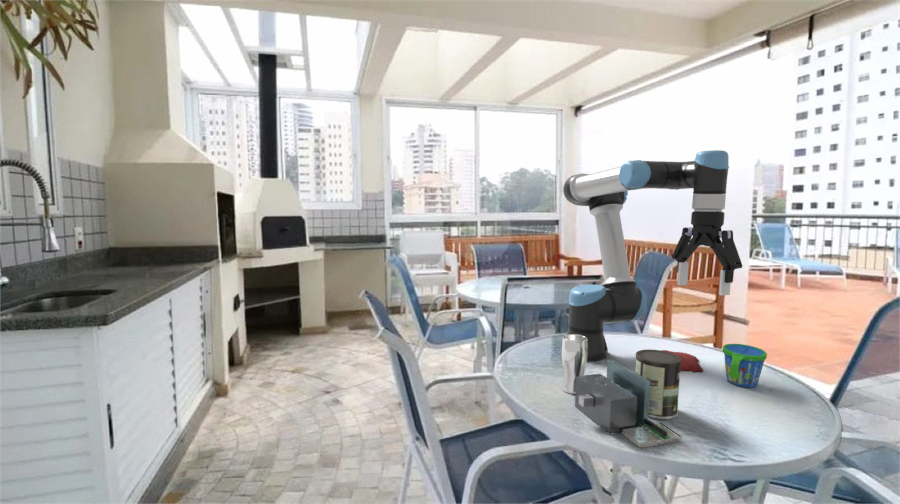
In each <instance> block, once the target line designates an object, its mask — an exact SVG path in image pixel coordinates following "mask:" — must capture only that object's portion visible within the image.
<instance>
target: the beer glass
mask: <svg viewBox="0 0 900 504" xmlns="http://www.w3.org/2000/svg"><path fill="white" fill-rule="evenodd" d="M566 334H567V333H566ZM566 334H565V335H562V342H561V364H562V369H563V370H562V371H563V381H562V384H561V389H562V391H563V392H564V393H566V394H570V395H576V377H577V376H585V372H586V366H587V362H588V360H587V357H588V342H587V340H588V339H587V337H585V336H582V335H577V334H567V335H566Z"/></svg>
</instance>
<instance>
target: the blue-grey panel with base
mask: <svg viewBox="0 0 900 504" xmlns="http://www.w3.org/2000/svg"><path fill="white" fill-rule="evenodd" d="M606 364H607V365H606V366H607V367H606V378H608V379H609V380H611V381H613V382H614V383H616V384H617V385H619V386H621V387H622V388H624V389H625V390H627V391H629V392H630V393H632V394H633V395H635V396H637V411H636V423H637V424H638V425H640V427H641V426H644V425H648V426H650V427H651V428H652V429H654V430H655V431H657V432H658V433H660V434H661V435H663V436H667V432H666V431H664V430H663V429H661V428H660V427H658V426H657V425H655V424H656V423H654V422H653V421H651V420H649V417H648V407H649V391H650V380H648V379H646V378H644V377H643V376H641V375H639V374H637V373H635V371H633V370H631V369H629V368H628V367H626V366H625V365H622V364H621V363H619V362H617V361H615V360H613V359H607V363H606ZM579 404H580V405H581V406H582V407H588V406H595V396H593V395H592V394H586V395H579Z"/></svg>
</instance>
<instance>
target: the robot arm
mask: <svg viewBox="0 0 900 504" xmlns="http://www.w3.org/2000/svg"><path fill="white" fill-rule="evenodd" d="M729 168H730V165H729V153H728V152H727V151H726V150H721V149H720V150H719V149H718V150H713V149H712V150H702V151H698V152H697V153H696V154H695V157H694V160H689V161H665V160H662V161H660V160H659V161H656V160H655V161H654V160H652V161H651V160H642V159H637V160H636V159H635V160H627V161H625V162H624V163H623V164H622V165H620V166H617V167H612V168H610V169H605V170H602V171H598V172H593V173H589V174H588V173H578V174H574V175H571V176H569V178H567V179H566V180H565V182H564V184H563V187H562V189H563V191H562V192H563V195H564V198H565V199H566V201H567V202H569V203H571V204H573V205H574V206H580V207H588V209H589V214H591V215H592V216H594V221H595V226H596V234H597V238H598V245H599V250H600V251H599V252H600V258H601V264H602V268H603V269H602V271H603V277H604V281H603V282H602V283H601V285H600V284H581V285H576V286H575V287H573V288H572V289H570V291H569V296H568V320H567V321H568V322H567V324H568V325H567V332H566V334H565V335H567V334H577V335H582V336H585V337H587V339H588V340H587V342H588V357H587V362H589V361H592V362H593V361H595V362H596V361H602V360H604V359H606V358H608V355H609V348H608V345H607V341H606V338H605V335H604V327H605V326H604V324H610V323H623V322H624V323H627V322H633V321H634V322H635V321H637V320H638V321H639V320H640V319H641V318H642V317H643V316H644V314H645V313H646V311H647V306H648V297H647V294H646V292H645V291H644V290H643V289H642V288H641V287H639V286H638V285H637V281H636V280H635V279H634V278H632V276H631V274H630V273H631V272H630V268H629V261H628V255H627V250H626V249H627V248H626V243H625V236H624V231H623V225H622V220H621V219H622V218H621V214H620V212H621V211H622V210H623V208H624V204H625V203H626V201H627V199H628V198H627V196H629V195H628V192H629V191H635V190H636V191H637V190H643V189H661V190H663V189H665V190H677V191H679V190H684V189H685V190H686V189H693V190H692V204H691V209H692V210H693V211H692V212H691V218H690V224H691V225H692V227H689V226H688V227H682V231H681V236H680V238H679V240H678V242H677V244H676V246H675V248H674V250H673V253H672V254H671V258H672V259H673V260H676V262H677V264H676V265H677V266H676V273H677V284H676V285H677V286H688V282H689V281H688V279H689V268H690V267H689V263H690V262H689V261H688V260H689V258H690V257H691V255H692V254H694V252H695V251H697V249H698V247H699V246H703V247H709V248H710V249H711V250H712V251H713V253H714V254H715V256H716V257H717V259H718V260H719V263H720V264H721V266H722V267H723V268H722V269H720V275H719V288H718V295H719V296H730V295H731V294H730V293H731V284H732V283H733V282H734V276H735V275H734V274H735V273H734V272H735V270H737V269H742V268H743V263H742V260H741V257H740V255H739V251H738V249H737V246H736V243H735V240H734V231H733V230H729V229H728V230H726V229H725V230H724V229H723V230H722V227H723V226H724V223H725V212H723V210H725V209H726V199H727V197H726V196H727V195H726V194H727V184H728V175H729Z"/></svg>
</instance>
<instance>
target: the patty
mask: <svg viewBox="0 0 900 504" xmlns="http://www.w3.org/2000/svg"><path fill="white" fill-rule="evenodd" d="M661 351H666V352H670V353H672V354H675V355H677V356H679V357H680V358H681V364H680V372H683V371H692V372H691V373H696V372H700V373H703V372H704V369H703V367H702V366H700V363H699V362H698V361H699V359H698V358H697V357H696V356H695V355H692V354H690V353H687V352H682V351H670V350H666V349H662V350H661ZM697 362H698V363H697ZM702 371H703V372H702Z"/></svg>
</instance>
